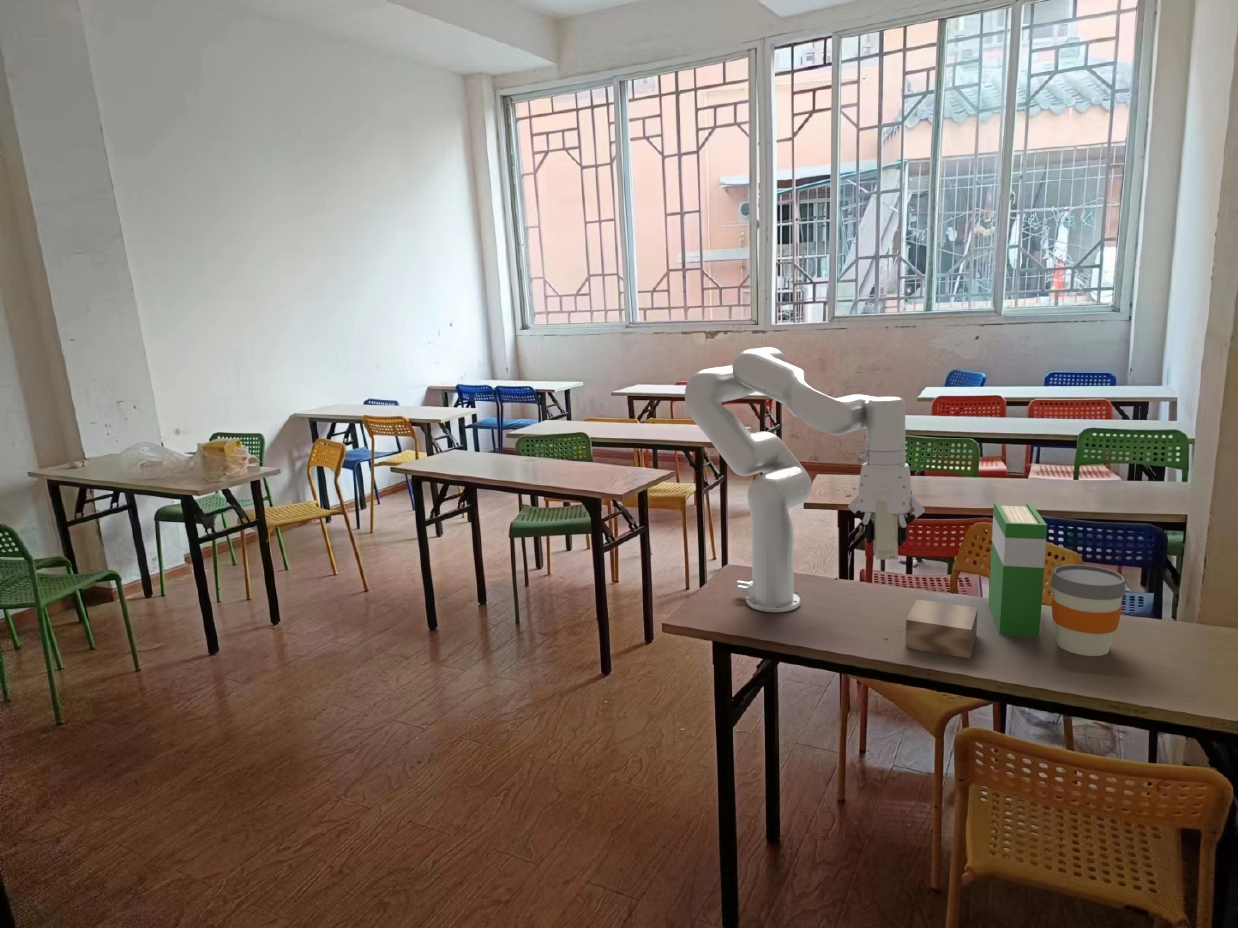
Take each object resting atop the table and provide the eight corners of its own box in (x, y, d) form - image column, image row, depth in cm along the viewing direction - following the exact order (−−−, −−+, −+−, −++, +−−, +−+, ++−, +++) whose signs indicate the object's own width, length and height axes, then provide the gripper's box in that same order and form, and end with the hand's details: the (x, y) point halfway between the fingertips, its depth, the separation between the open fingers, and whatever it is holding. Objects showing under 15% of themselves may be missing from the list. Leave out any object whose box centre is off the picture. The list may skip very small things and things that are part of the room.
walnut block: (905, 647, 156) (906, 619, 154) (915, 625, 166) (916, 599, 165) (969, 658, 150) (971, 629, 148) (976, 635, 160) (977, 608, 159)
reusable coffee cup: (1035, 646, 154) (1040, 575, 151) (1061, 627, 161) (1066, 559, 159) (1106, 666, 144) (1112, 591, 141) (1129, 645, 152) (1136, 574, 149)
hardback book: (988, 602, 176) (994, 501, 172) (1024, 605, 174) (1030, 503, 169) (999, 633, 160) (1006, 523, 155) (1039, 637, 158) (1047, 525, 153)
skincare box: (898, 560, 156) (898, 502, 154) (876, 560, 157) (876, 502, 155) (894, 551, 162) (894, 495, 160) (872, 551, 163) (872, 495, 161)
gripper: (838, 459, 157) (839, 544, 161) (927, 462, 149) (926, 552, 152) (847, 453, 164) (848, 534, 167) (933, 455, 155) (932, 541, 158)
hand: (885, 542), depth 159 cm, fingers closed on skincare box, 5 cm apart
